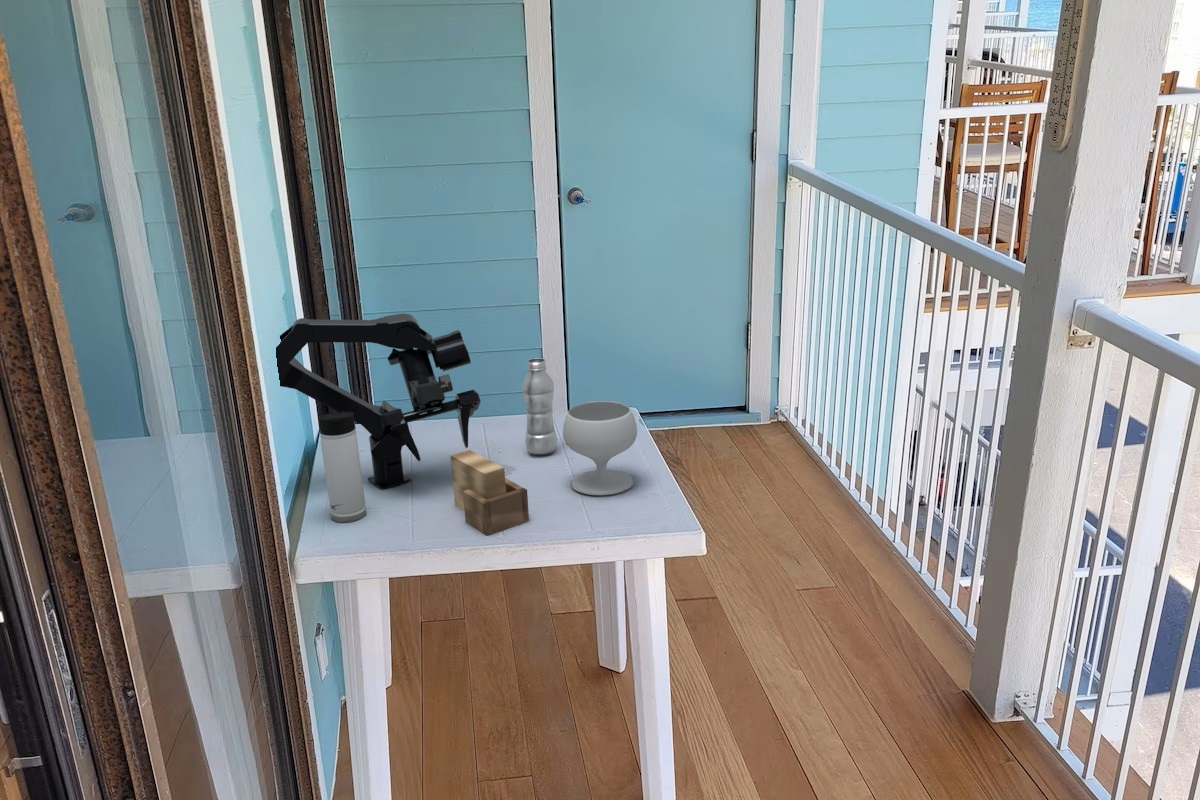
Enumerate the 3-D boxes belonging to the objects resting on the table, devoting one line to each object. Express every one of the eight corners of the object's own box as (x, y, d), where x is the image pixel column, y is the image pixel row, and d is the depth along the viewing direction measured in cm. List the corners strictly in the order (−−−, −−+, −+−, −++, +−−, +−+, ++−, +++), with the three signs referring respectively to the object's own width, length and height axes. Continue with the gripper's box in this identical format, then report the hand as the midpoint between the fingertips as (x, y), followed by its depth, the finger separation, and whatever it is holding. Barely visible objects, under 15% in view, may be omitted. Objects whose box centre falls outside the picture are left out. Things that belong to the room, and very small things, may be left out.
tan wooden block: (455, 505, 185) (450, 455, 182) (473, 499, 188) (469, 449, 184) (489, 526, 176) (484, 473, 173) (508, 519, 178) (504, 467, 175)
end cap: (465, 522, 178) (462, 491, 176) (507, 508, 183) (505, 478, 181) (486, 535, 172) (484, 503, 171) (529, 520, 177) (527, 489, 176)
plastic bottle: (519, 453, 209) (513, 361, 203) (545, 444, 213) (539, 354, 207) (538, 460, 205) (532, 367, 198) (564, 452, 209) (559, 360, 203)
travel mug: (332, 525, 179) (317, 420, 173) (330, 511, 185) (316, 409, 179) (367, 520, 180) (354, 415, 174) (365, 506, 186) (352, 404, 180)
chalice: (653, 485, 190) (651, 410, 186) (595, 505, 182) (591, 428, 178) (608, 465, 201) (605, 394, 196) (551, 483, 193) (547, 410, 188)
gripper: (371, 376, 181) (396, 456, 178) (470, 351, 187) (496, 429, 183) (371, 395, 191) (394, 471, 188) (465, 371, 197) (488, 445, 193)
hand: (443, 453), depth 188 cm, fingers open, 9 cm apart
